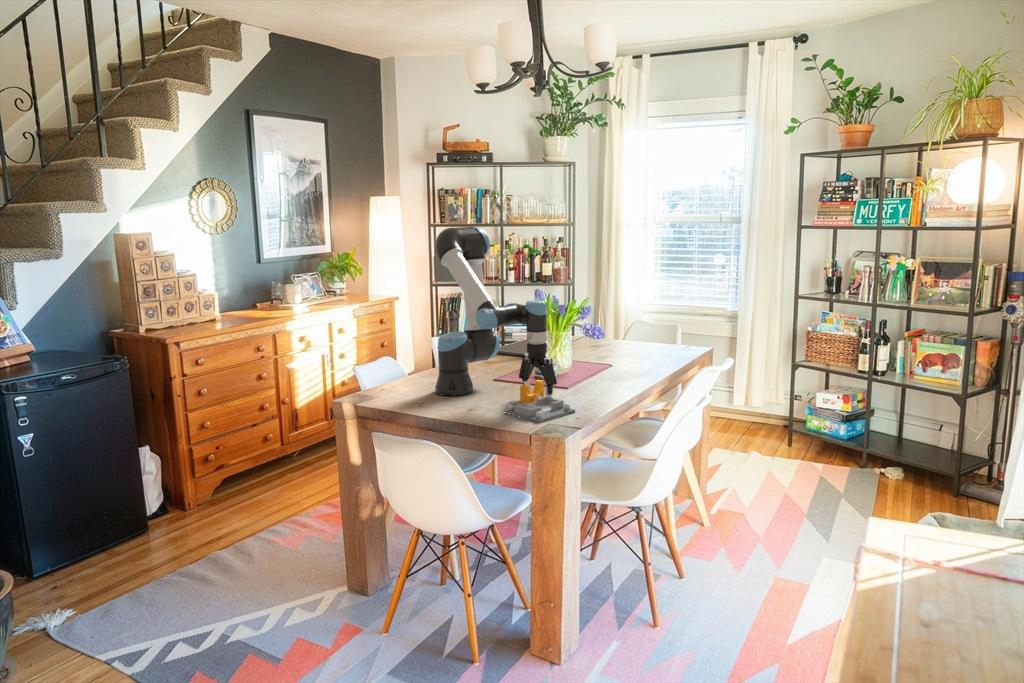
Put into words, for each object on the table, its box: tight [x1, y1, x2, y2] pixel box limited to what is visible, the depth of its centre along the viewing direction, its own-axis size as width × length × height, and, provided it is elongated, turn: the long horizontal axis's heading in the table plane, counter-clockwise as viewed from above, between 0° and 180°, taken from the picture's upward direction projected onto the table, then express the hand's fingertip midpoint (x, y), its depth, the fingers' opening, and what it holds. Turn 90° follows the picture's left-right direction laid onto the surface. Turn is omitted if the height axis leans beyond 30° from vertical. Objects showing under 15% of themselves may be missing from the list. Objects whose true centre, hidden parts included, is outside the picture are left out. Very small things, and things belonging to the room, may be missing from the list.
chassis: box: [502, 396, 576, 424], centre depth 257 cm, size 18×18×4 cm
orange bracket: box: [519, 379, 545, 404], centre depth 274 cm, size 12×4×6 cm, turn 143°
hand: (537, 400), depth 273 cm, fingers open, 10 cm apart
